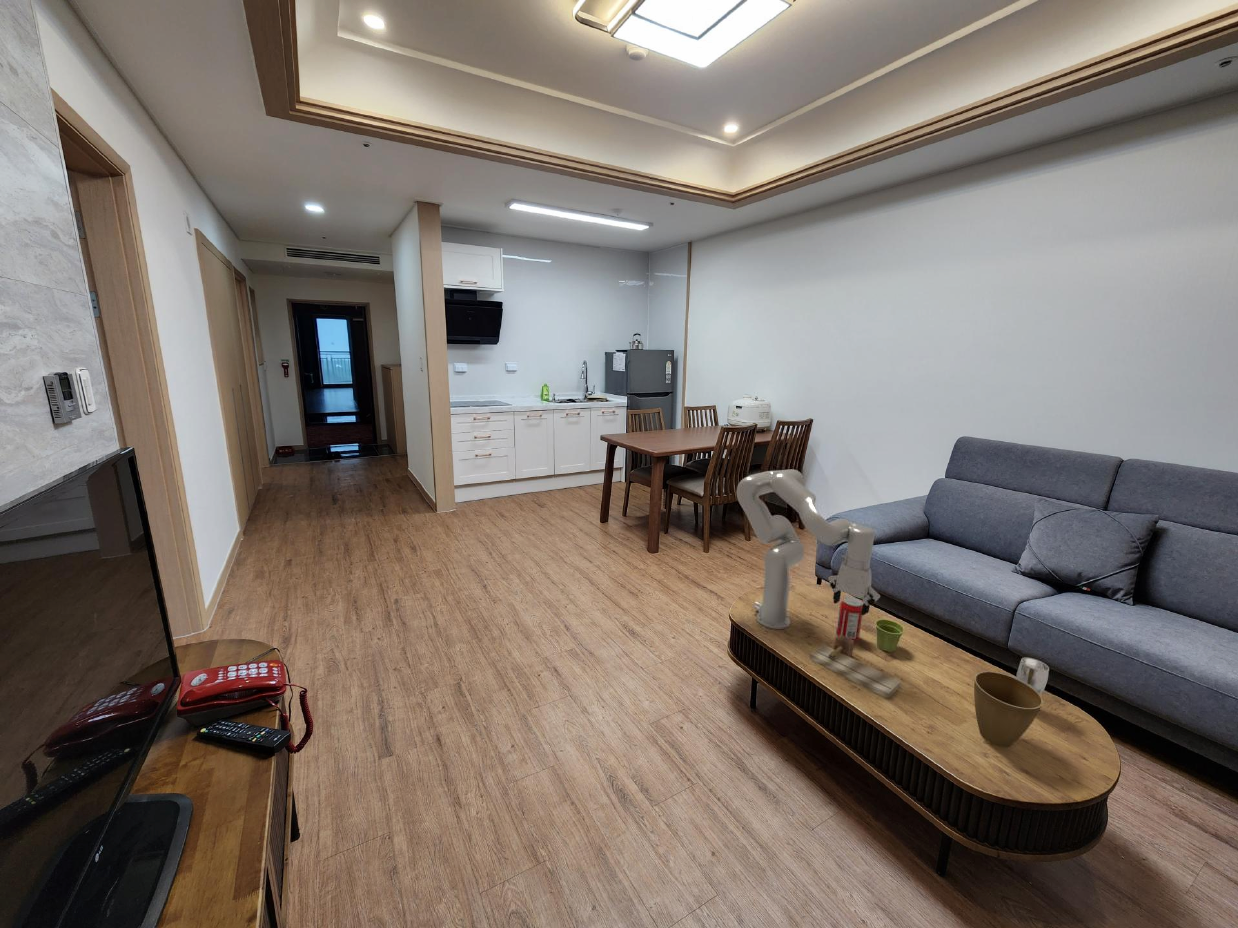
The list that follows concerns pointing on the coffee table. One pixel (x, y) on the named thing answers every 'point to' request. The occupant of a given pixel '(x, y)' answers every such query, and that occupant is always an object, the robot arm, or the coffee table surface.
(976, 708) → the plant pot
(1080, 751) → the coffee table surface
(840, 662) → the board
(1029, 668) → the beer glass
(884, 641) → the plant pot
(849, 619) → the soda can
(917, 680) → the coffee table surface
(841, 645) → the cube with stick handle
